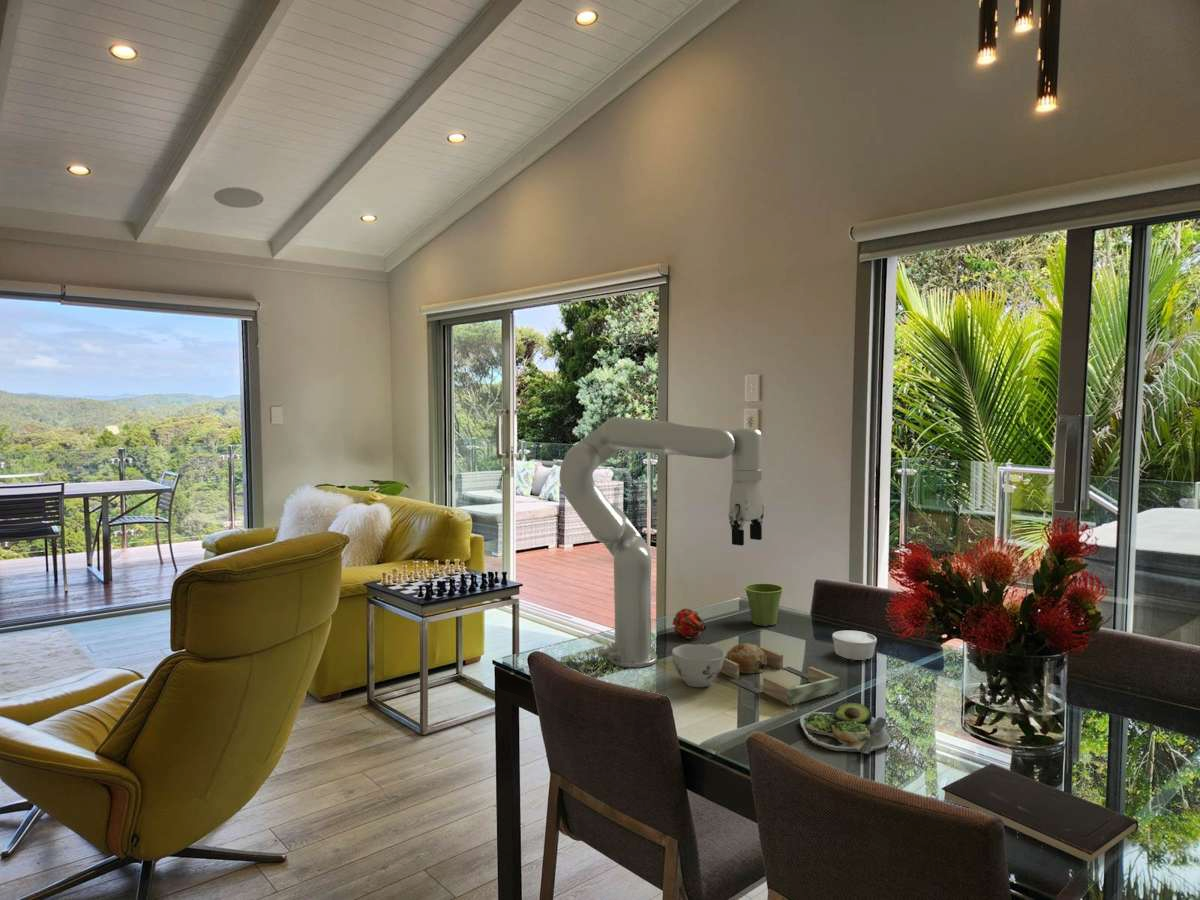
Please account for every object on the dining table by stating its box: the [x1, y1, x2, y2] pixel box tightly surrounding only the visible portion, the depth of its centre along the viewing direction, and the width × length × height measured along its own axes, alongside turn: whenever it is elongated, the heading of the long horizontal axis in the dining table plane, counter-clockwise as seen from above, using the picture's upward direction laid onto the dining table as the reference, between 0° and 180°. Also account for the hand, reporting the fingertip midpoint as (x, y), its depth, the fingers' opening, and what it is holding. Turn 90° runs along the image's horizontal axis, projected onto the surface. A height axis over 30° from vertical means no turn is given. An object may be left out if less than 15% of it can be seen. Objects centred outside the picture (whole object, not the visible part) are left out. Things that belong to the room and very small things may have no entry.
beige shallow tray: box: [719, 646, 841, 706], centre depth 184 cm, size 19×27×4 cm
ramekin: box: [831, 629, 878, 661], centre depth 203 cm, size 11×11×5 cm
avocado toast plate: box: [799, 702, 892, 755], centre depth 152 cm, size 19×18×5 cm
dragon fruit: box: [672, 608, 707, 640], centre depth 221 cm, size 8×8×12 cm
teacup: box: [671, 643, 726, 688], centre depth 184 cm, size 15×12×8 cm
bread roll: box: [724, 642, 768, 675], centre depth 194 cm, size 10×10×8 cm
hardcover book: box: [941, 763, 1139, 864], centre depth 124 cm, size 16×23×2 cm
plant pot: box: [743, 582, 785, 627], centre depth 233 cm, size 12×12×11 cm
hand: (747, 542), depth 198 cm, fingers open, 9 cm apart
